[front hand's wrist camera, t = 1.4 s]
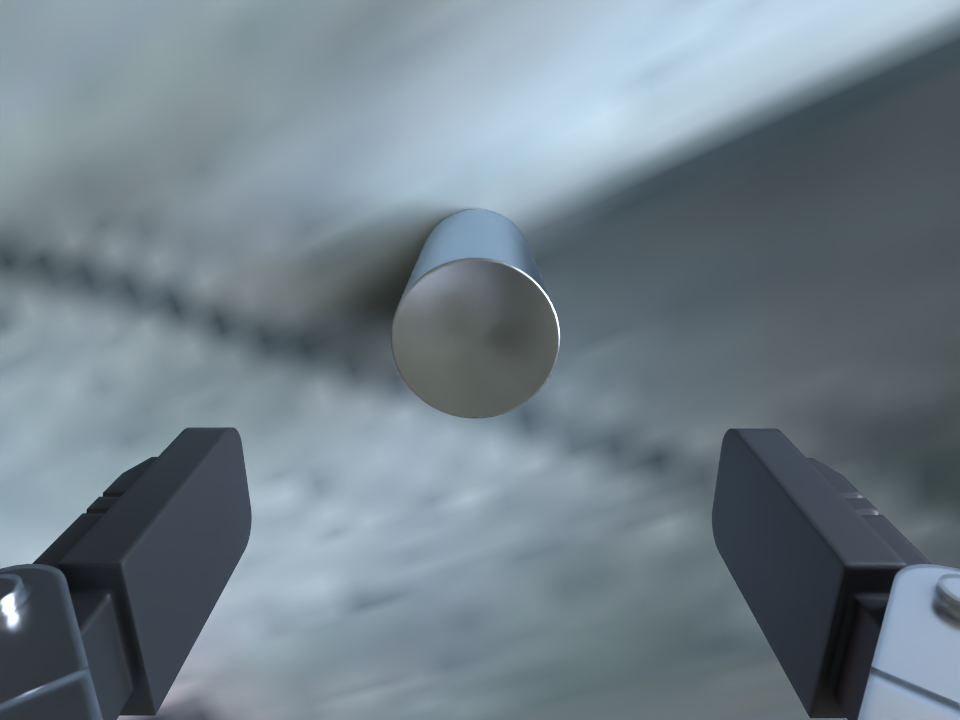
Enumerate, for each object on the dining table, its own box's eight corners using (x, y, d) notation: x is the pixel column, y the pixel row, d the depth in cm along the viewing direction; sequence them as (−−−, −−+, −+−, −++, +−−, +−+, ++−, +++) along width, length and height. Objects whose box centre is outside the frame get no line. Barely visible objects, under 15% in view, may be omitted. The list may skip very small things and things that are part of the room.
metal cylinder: (551, 238, 27) (590, 302, 17) (502, 336, 28) (515, 443, 19) (448, 189, 26) (431, 228, 17) (403, 291, 27) (365, 380, 18)
